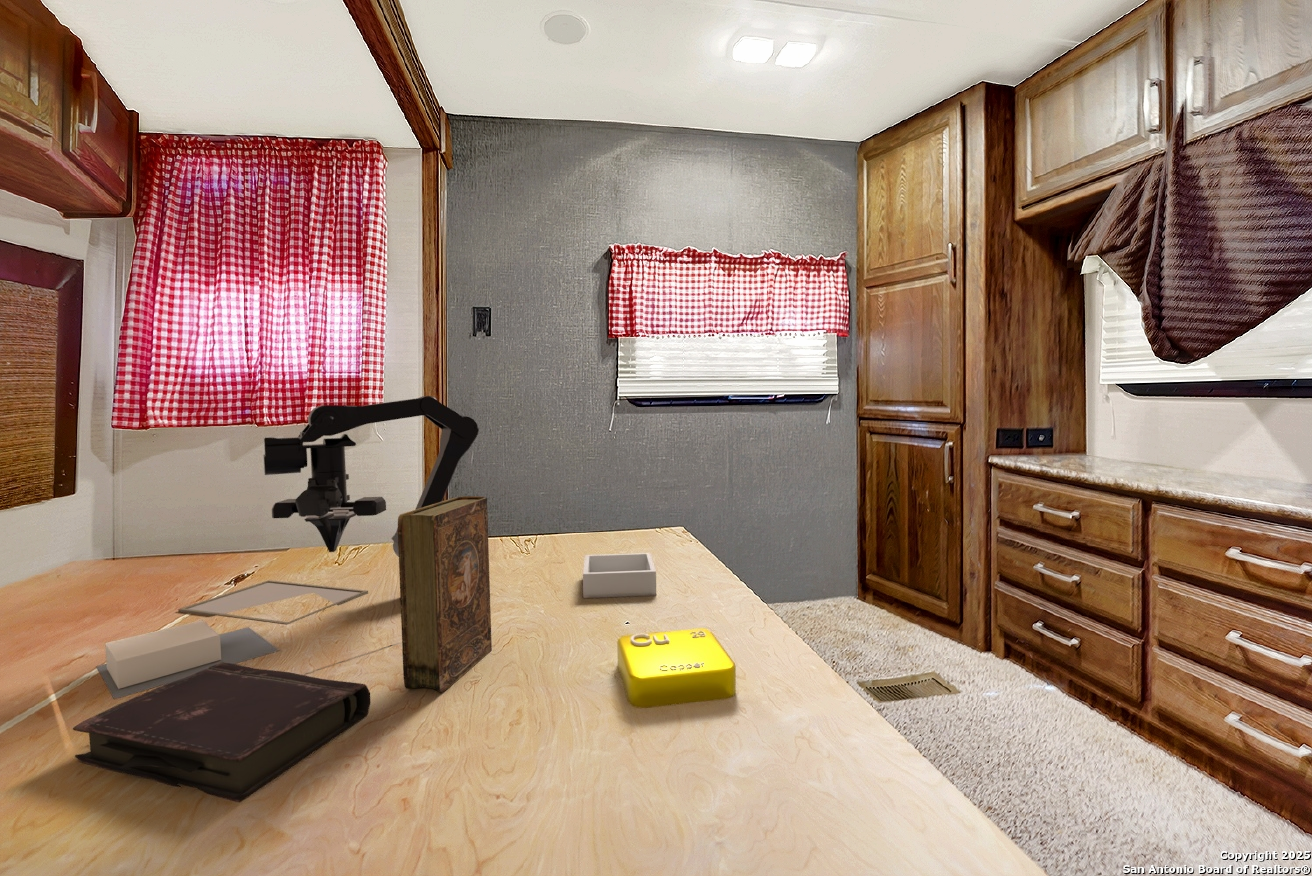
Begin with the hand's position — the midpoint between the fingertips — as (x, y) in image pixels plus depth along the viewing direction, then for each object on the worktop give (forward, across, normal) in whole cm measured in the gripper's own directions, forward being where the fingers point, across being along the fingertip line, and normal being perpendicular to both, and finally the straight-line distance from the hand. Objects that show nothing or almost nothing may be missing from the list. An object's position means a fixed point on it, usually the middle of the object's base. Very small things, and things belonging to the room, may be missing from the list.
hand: (332, 551), depth 113 cm
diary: (+13, +7, -43) cm, 45 cm away
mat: (+12, -14, -20) cm, 27 cm away
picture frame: (+13, -15, +8) cm, 21 cm away
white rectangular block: (+10, -12, -18) cm, 23 cm away
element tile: (+12, +62, -34) cm, 72 cm away
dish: (+12, +55, +10) cm, 57 cm away
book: (+12, +29, -27) cm, 41 cm away
